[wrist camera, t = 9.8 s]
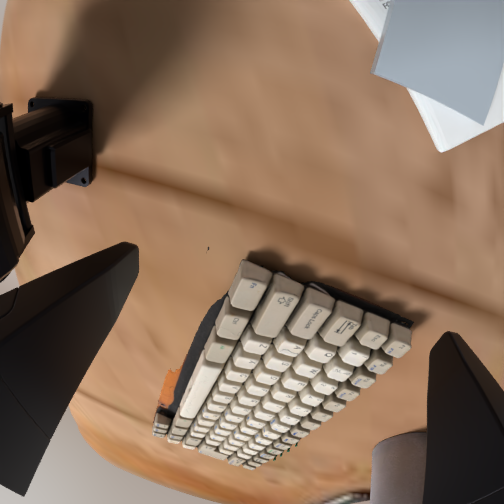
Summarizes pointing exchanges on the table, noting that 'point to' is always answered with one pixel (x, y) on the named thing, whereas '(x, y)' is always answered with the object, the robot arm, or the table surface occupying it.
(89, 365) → the robot arm
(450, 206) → the table surface
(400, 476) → the pillar candle
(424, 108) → the external hard drive
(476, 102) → the lid
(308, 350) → the mechanical keyboard
